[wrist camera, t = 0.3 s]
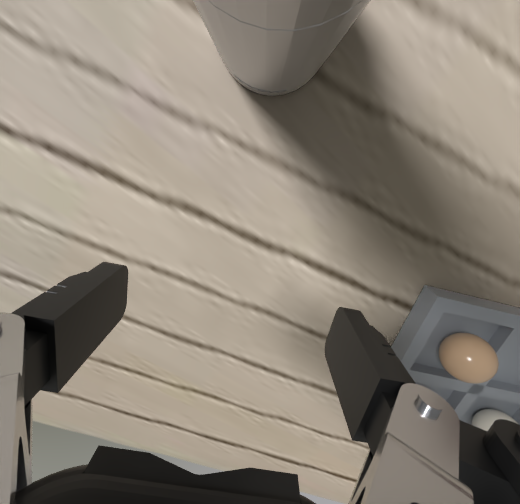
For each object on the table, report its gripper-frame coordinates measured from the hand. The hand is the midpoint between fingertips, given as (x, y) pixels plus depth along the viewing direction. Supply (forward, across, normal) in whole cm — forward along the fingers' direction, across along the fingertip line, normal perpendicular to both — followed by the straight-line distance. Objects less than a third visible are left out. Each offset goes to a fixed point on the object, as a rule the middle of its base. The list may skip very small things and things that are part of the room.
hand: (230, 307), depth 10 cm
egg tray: (+18, -30, +14) cm, 38 cm away
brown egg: (+14, -25, +10) cm, 31 cm away
